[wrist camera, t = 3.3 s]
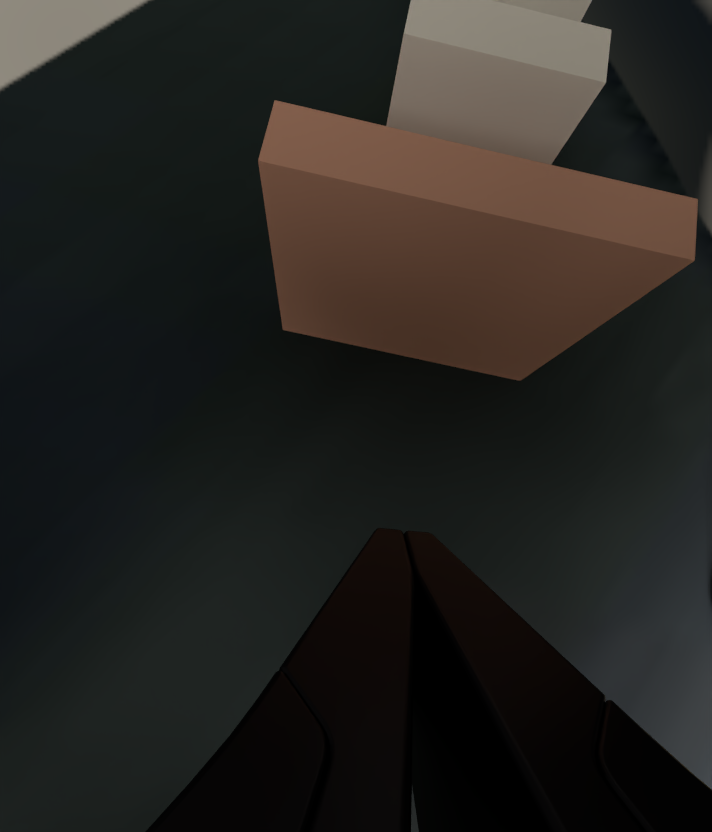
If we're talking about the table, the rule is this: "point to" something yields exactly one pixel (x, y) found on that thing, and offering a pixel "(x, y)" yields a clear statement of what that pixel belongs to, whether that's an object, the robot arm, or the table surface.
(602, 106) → the table surface
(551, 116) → the domino
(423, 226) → the domino
